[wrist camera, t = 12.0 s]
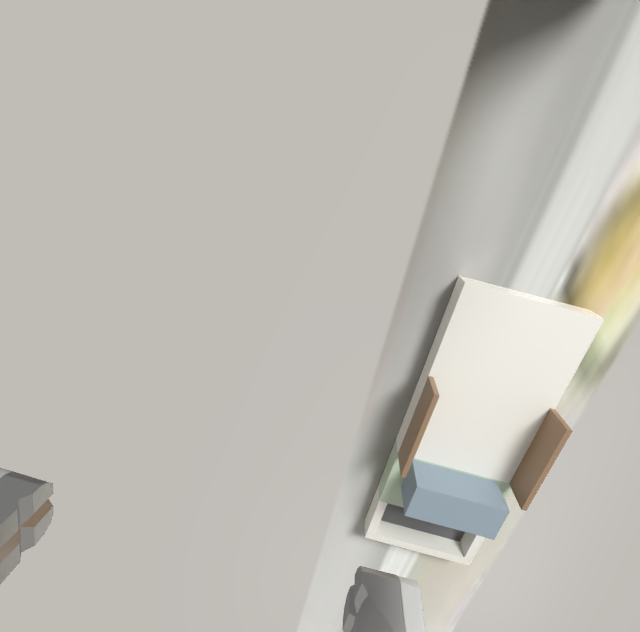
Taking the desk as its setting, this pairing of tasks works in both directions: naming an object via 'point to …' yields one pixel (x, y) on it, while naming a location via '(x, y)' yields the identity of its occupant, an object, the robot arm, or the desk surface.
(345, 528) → the desk surface
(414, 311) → the desk surface
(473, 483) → the slate bar
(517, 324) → the tunnel deck
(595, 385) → the desk surface
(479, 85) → the desk surface
